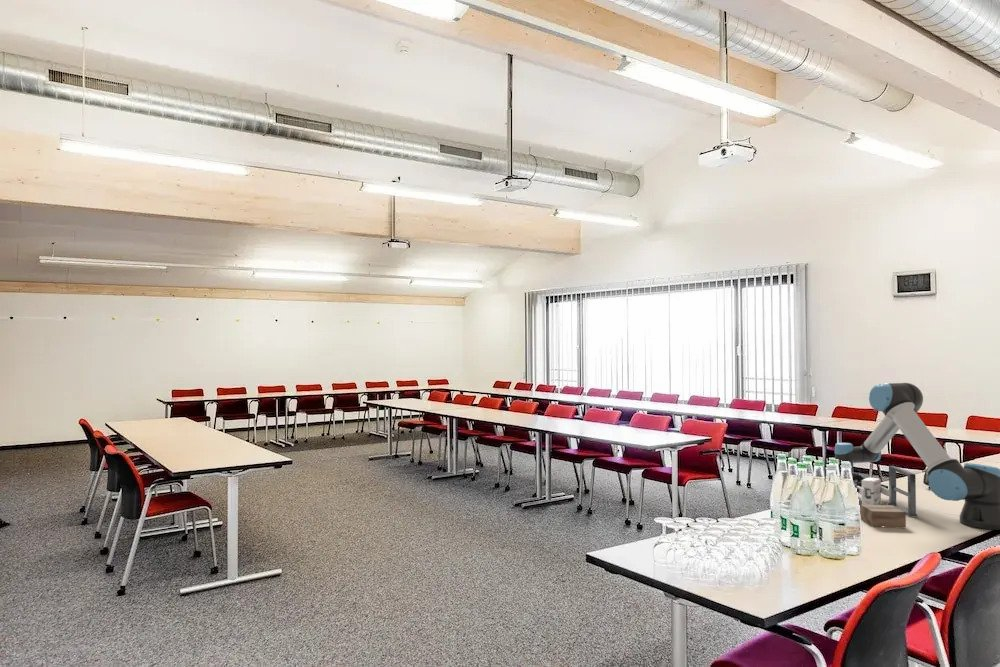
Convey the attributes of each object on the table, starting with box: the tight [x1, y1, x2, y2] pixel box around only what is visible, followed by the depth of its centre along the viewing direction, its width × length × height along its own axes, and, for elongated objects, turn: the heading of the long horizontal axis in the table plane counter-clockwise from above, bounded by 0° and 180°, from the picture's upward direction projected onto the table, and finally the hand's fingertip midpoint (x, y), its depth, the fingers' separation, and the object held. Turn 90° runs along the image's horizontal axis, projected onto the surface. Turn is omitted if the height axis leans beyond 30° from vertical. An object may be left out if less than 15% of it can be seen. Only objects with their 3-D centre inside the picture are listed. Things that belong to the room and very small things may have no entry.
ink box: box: [861, 477, 882, 505], centre depth 268 cm, size 9×5×12 cm, turn 132°
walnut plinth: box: [860, 504, 907, 528], centre depth 248 cm, size 10×12×6 cm
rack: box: [887, 465, 918, 517], centre depth 267 cm, size 18×3×17 cm, turn 173°
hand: (876, 492), depth 264 cm, fingers closed on ink box, 9 cm apart
